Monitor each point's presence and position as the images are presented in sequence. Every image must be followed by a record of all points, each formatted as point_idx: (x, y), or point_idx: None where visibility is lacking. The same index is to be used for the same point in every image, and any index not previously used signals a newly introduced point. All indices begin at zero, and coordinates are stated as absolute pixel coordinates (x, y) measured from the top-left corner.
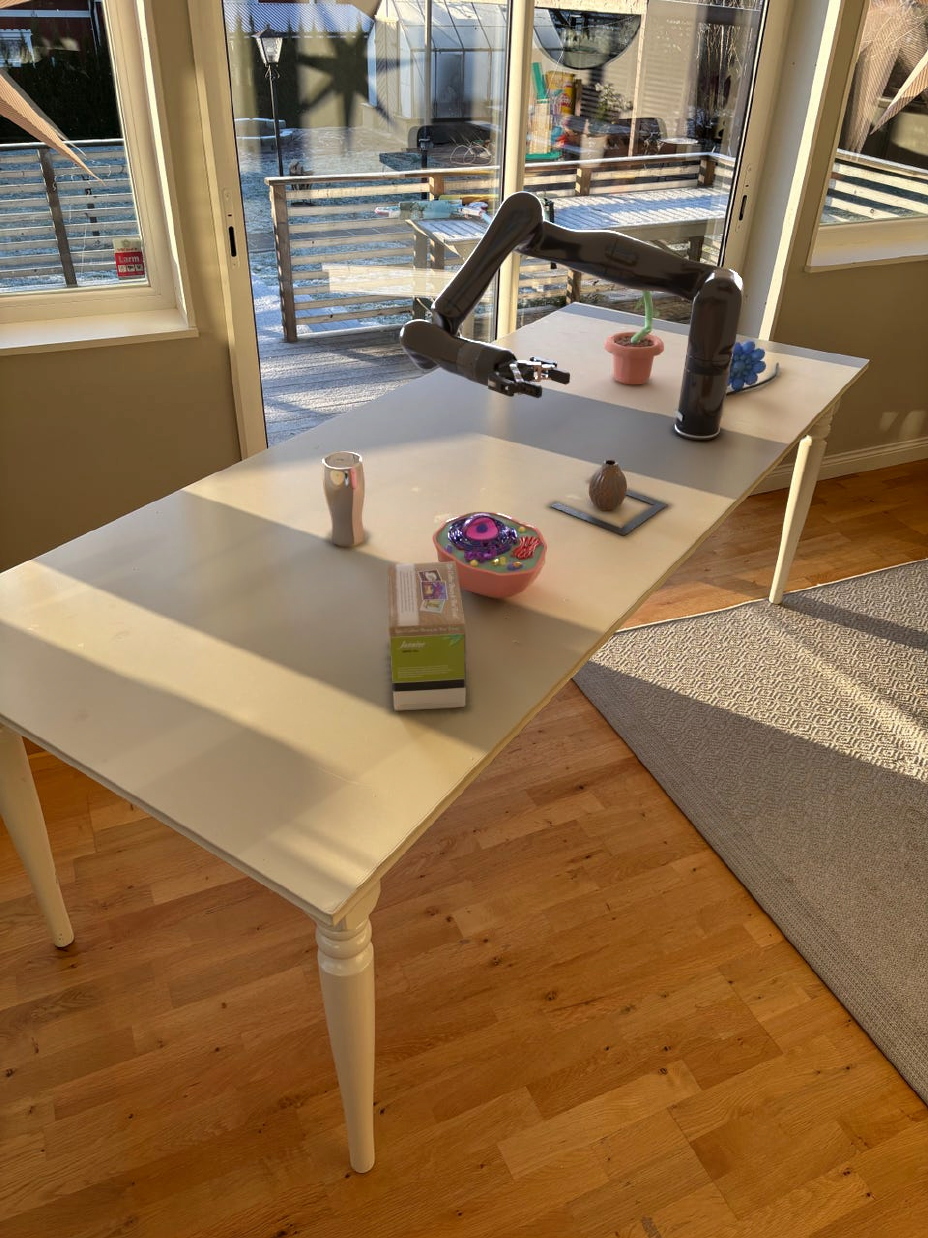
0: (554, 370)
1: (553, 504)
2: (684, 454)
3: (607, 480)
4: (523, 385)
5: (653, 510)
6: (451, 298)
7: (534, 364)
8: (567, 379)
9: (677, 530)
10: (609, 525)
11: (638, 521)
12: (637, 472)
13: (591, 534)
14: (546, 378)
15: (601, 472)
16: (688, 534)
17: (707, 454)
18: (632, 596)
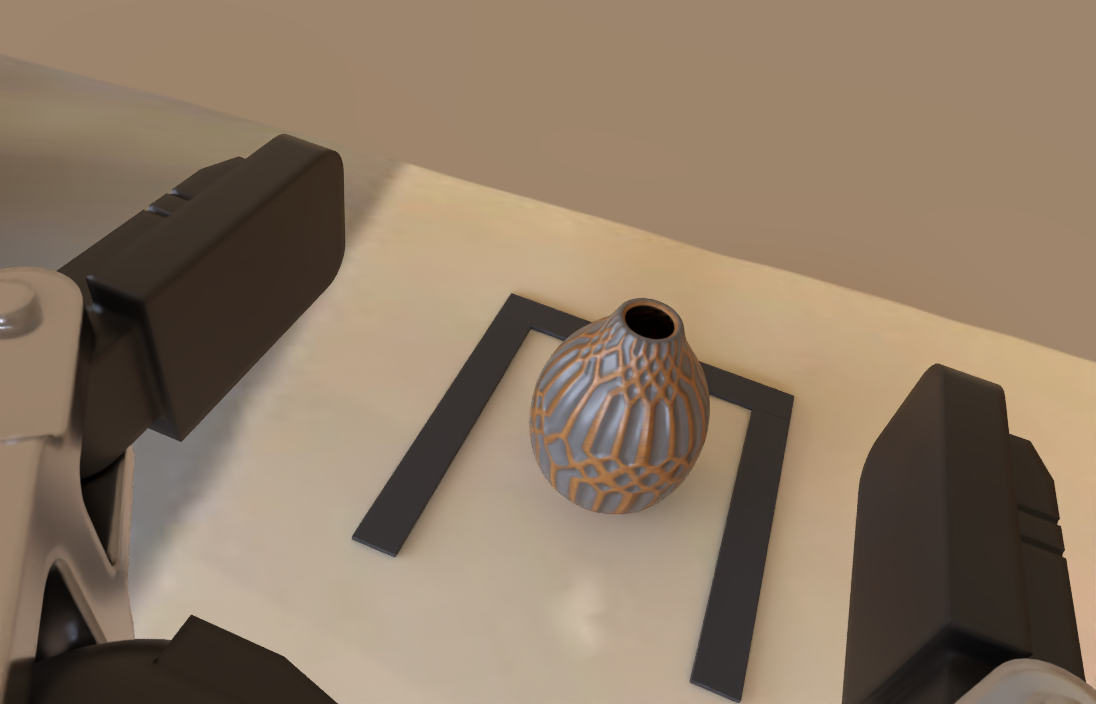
0: (193, 277)
1: (718, 689)
2: (36, 248)
3: (701, 369)
4: (1064, 657)
5: (575, 327)
6: None
7: (20, 576)
8: (343, 210)
9: (664, 276)
10: (759, 441)
11: None
12: (243, 386)
13: (850, 494)
14: (130, 503)
15: (686, 378)
16: (671, 255)
17: (40, 192)
18: (1073, 362)
